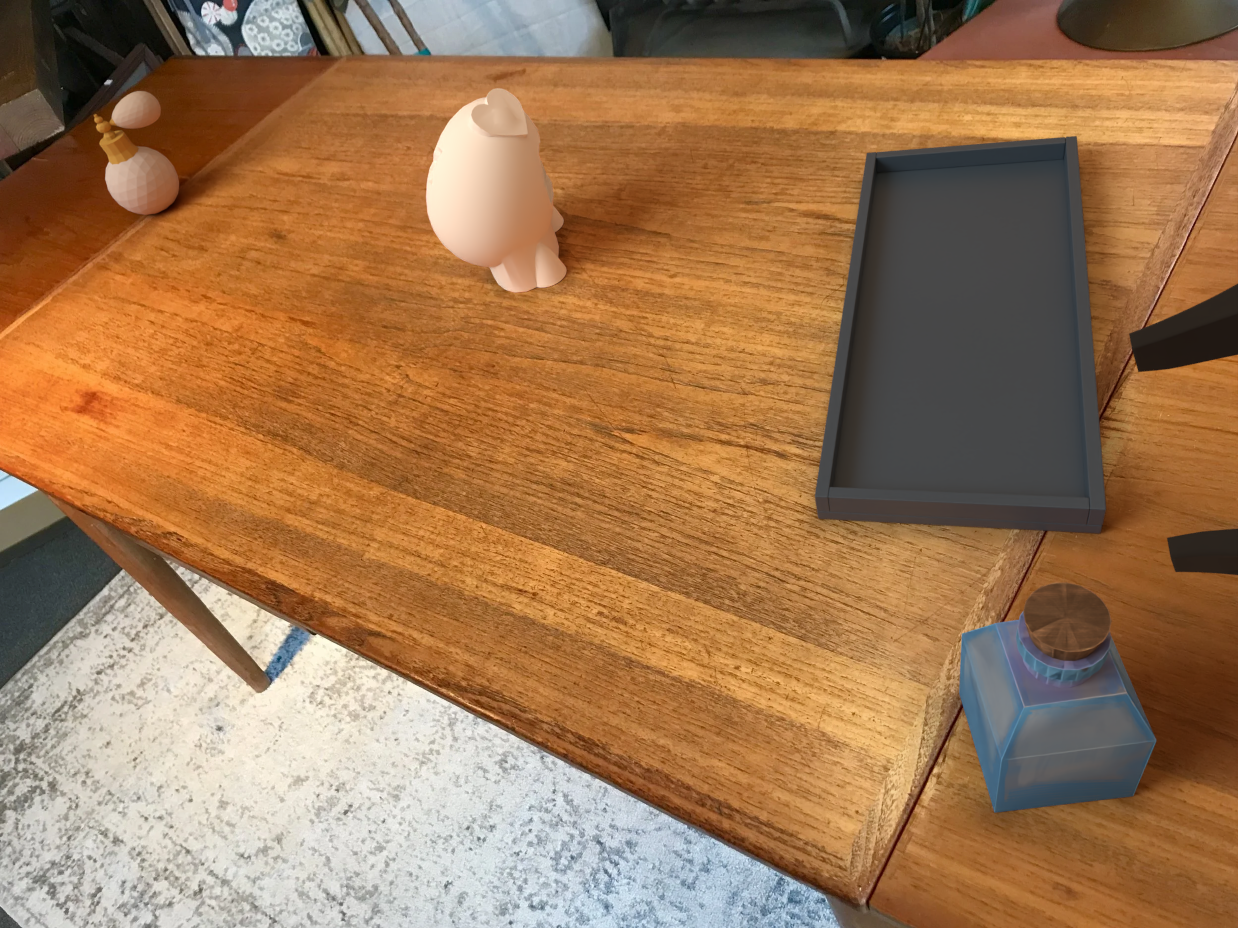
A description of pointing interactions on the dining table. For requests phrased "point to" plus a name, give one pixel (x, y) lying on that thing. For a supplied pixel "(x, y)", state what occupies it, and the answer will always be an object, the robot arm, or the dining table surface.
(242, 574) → the dining table surface
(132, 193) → the perfume bottle
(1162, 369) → the robot arm
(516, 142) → the figurine
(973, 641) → the perfume bottle
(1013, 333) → the tray
